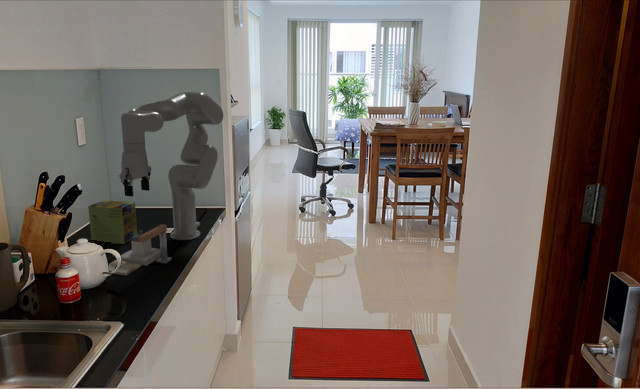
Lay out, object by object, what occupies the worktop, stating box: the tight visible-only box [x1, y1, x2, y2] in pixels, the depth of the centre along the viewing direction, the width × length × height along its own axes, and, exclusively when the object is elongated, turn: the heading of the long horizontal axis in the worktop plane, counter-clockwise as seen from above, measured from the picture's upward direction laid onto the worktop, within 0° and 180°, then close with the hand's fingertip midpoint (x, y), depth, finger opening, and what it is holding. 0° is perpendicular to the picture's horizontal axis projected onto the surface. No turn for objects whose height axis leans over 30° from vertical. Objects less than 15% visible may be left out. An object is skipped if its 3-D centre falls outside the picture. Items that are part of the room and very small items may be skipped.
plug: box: [130, 229, 153, 257], centre depth 182 cm, size 5×5×11 cm
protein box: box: [88, 199, 138, 245], centre depth 201 cm, size 10×15×16 cm
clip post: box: [155, 231, 173, 264], centre depth 179 cm, size 4×4×12 cm
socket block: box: [120, 247, 161, 266], centre depth 183 cm, size 12×12×2 cm
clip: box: [138, 224, 168, 242], centre depth 172 cm, size 3×15×2 cm, turn 165°
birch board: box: [108, 259, 142, 276], centre depth 173 cm, size 9×11×1 cm
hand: (137, 193), depth 177 cm, fingers open, 9 cm apart
